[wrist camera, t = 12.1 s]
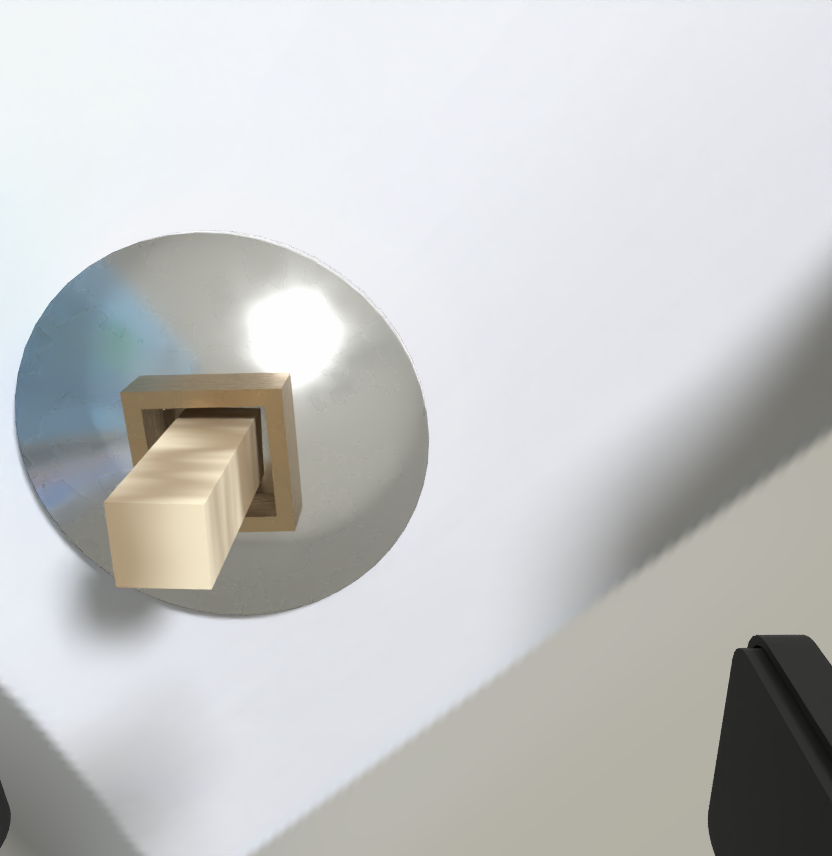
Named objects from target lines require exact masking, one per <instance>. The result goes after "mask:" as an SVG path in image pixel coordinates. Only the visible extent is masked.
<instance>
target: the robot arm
mask: <svg viewBox="0 0 832 856" xmlns="http://www.w3.org/2000/svg"><path fill="white" fill-rule="evenodd" d="M10 815H11V813H10V808H9V805H8V802H7V799H6V796H5V793H4V790H3V787H2V784H1V781H0V848H1V846H2V844H3V842H4V840H5V838H6V836H7V833H8V830H9V826H10V817H11V816H10ZM708 828H709V835H710V840H711V844H712V847H713V850H714V853H715V856H832V666H831V664H830V663H829V661H828V660H827V659H826V657H825V656H824V655H823V653H822V652H821V650H820V649H819V648H818V646H817V645H816V643H815V642H814V641H813V640H812V639H811V638H810V637H808V636H805V635H756V636H753V637H752V638H751V639H750V641H749V644H748V647H747V648H738V649H736V651H735V652H734V655H733V659H732V666H731V672H730V679H729V684H728V691H727V697H726V703H725V710H724V716H723V722H722V729H721V735H720V741H719V748H718V754H717V760H716V767H715V773H714V780H713V786H712V792H711V799H710V805H709V811H708Z"/></svg>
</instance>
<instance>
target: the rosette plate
mask: <svg viewBox="0 0 832 856" xmlns="http://www.w3.org/2000/svg"><path fill="white" fill-rule="evenodd" d="M212 407H231V408H261V427H262V446H263V465H264V476H263V478H262V480H261V482H260V484H259V487H258V489H257V491H256V493H255V495H254V498H253V500H252V502H251V504H250V506H249V509H248V511H247V513H246V515H245V517H244V520H243V522H242V524H241V526H240V528H239V531H238V533H237V535H236V537H235V539H234V542H233V544H232V546H231V548H230V550H229V553H228V555H227V557H226V559H225V561H224V564H223V566H222V568H221V570H220V572H219V575H218V577H217V579H216V581H215V583H214V585H213V588H212V590H207V589H162V588H135V589H137V590H139V591H141V592H143V593H145V594H147V595H149V596H151V597H154V598H157V599H159V600H162V601H165V602H168V603H170V604H173V605H177V606H181V607H185V608H189V609H193V610H197V611H203V612H210V613H217V614H230V615H253V614H266V613H274V612H279V611H284V610H290V609H294V608H298V607H301V606H304V605H307V604H310V603H313V602H317V601H319V600H321V599H323V598H325V597H327V596H330V595H332V594H334V593H336V592H338V591H340V590H342V589H343V588H345V587H346V586H348V585H350V584H351V583H353V582H355V581H356V580H358V579H359V578H360V577H361V576H363V575H364V574H365V573H366V572H368V571H369V570H370V569H371V568H372V567H374V566H375V565H376V564H377V563H378V562H379V561H380V560H381V559H382V558H383V557H384V555H385V554H386V553H387V552H388V551H389V550H390V549H391V548H392V547H393V545H394V544H395V542H396V541H397V540H398V538H399V537H400V535H401V534H402V533H403V531H404V530H405V528H406V526H407V524H408V522H409V520H410V518H411V516H412V514H413V512H414V510H415V508H416V506H417V503H418V500H419V497H420V494H421V491H422V488H423V485H424V480H425V474H426V469H427V464H428V448H429V430H428V419H427V408H426V403H425V398H424V394H423V390H422V386H421V382H420V379H419V376H418V374H417V371H416V368H415V366H414V363H413V361H412V358H411V356H410V354H409V352H408V350H407V349H406V347H405V345H404V343H403V341H402V339H401V338H400V336H399V334H398V333H397V331H396V330H395V328H394V327H393V326H392V324H391V323H390V322H389V320H388V319H387V317H386V316H385V315H384V313H383V312H382V311H381V310H380V309H379V308H378V307H377V306H376V305H375V303H374V302H373V301H372V300H371V299H370V298H369V297H368V296H367V295H366V294H365V293H364V292H363V291H362V290H361V289H360V288H358V287H357V286H356V285H355V284H353V283H352V282H351V281H350V280H349V279H347V278H346V277H345V276H344V275H342V274H341V273H340V272H338V271H337V270H335V269H333V268H332V267H330V266H329V265H327V264H325V263H324V262H322V261H321V260H319V259H317V258H316V257H313V256H311V255H309V254H307V253H305V252H303V251H300V250H298V249H296V248H294V247H292V246H290V245H287V244H283V243H280V242H277V241H274V240H271V239H267V238H264V237H261V236H255V235H250V234H244V233H238V232H233V231H211V230H199V231H189V232H178V233H172V234H167V235H163V236H159V237H155V238H150V239H146V240H144V241H141V242H138V243H135V244H133V245H130V246H128V247H125V248H123V249H120V250H118V251H115V252H113V253H111V254H109V255H107V256H106V257H104V258H102V259H101V260H99V261H97V262H95V263H94V264H92V265H90V266H89V267H87V268H86V269H85V270H84V271H82V272H81V273H80V274H79V275H77V276H76V277H75V278H74V279H72V280H71V281H70V282H69V283H67V285H66V286H65V287H64V288H63V289H62V290H61V291H60V292H59V293H58V294H57V296H56V297H55V298H54V299H53V300H52V301H51V302H50V303H49V305H48V306H47V308H46V309H45V311H44V313H43V314H42V316H41V317H40V319H39V320H38V322H37V323H36V325H35V327H34V329H33V331H32V334H31V336H30V338H29V340H28V342H27V345H26V347H25V350H24V353H23V357H22V360H21V364H20V368H19V371H18V378H17V386H16V395H15V412H16V427H17V433H18V439H19V445H20V450H21V453H22V456H23V459H24V462H25V466H26V469H27V472H28V474H29V476H30V479H31V481H32V483H33V485H34V487H35V490H36V492H37V494H38V496H39V498H40V499H41V501H42V502H43V504H44V506H45V507H46V509H47V510H48V512H49V514H50V515H51V517H52V518H53V519H54V521H55V522H56V523H57V524H58V526H59V527H60V528H61V529H62V531H63V532H64V533H65V535H66V536H67V537H68V538H69V539H70V540H71V541H72V542H73V543H74V544H75V545H76V546H77V547H78V548H79V549H80V550H81V551H82V552H83V553H84V554H85V555H86V556H87V557H89V558H90V559H91V560H92V561H94V562H95V563H96V564H97V565H99V566H100V567H101V568H102V569H104V570H105V571H106V572H108V573H109V574H111V575H113V576H114V571H113V564H112V557H111V550H110V543H109V536H108V529H107V522H106V515H105V508H104V501H105V500H106V499H107V498H108V497H109V495H110V494H111V493H112V492H113V491H114V490H115V489H116V487H117V486H118V485H119V484H120V483H121V482H122V481H123V479H124V478H125V477H126V476H127V475H128V474H129V473H130V471H131V470H132V469H133V468H134V467H135V466H136V465H137V463H138V462H139V461H140V460H141V459H142V458H143V456H144V455H145V454H146V453H147V452H148V451H149V450H150V448H151V447H152V446H153V445H154V444H155V443H156V442H157V440H158V439H159V438H160V437H161V436H162V435H163V434H164V432H165V431H166V430H167V429H168V428H169V427H170V426H171V424H172V423H173V422H174V421H175V420H176V419H177V417H178V416H179V415H180V414H181V413H182V412H183V411H184V409H185V408H212Z"/></svg>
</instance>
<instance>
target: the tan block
mask: <svg viewBox="0 0 832 856" xmlns="http://www.w3.org/2000/svg"><path fill="white" fill-rule="evenodd" d="M263 476H264V465H263V446H262V427H261V408H231V407H212V408H185V409H184V411H183V412H182V413H181V414H180V415H179V416H178V417H177V419H176V420H175V421H174V422H173V423H172V424H171V426H170V427H169V428H168V429H167V430H166V431H165V432H164V434H163V435H162V436H161V437H160V438H159V439H158V440H157V442H156V443H155V444H154V445H153V446H152V447H151V448H150V450H149V451H148V452H147V453H146V454H145V455H144V456H143V458H142V459H141V460H140V461H139V462H138V463H137V465H136V466H135V467H134V468H133V469H132V470H131V471H130V473H129V474H128V475H127V476H126V477H125V478H124V479H123V481H122V482H121V483H120V484H119V485H118V486H117V487H116V489H115V490H114V491H113V492H112V493H111V494H110V495H109V497H108V498H107V499H106V500H105V501H104V508H105V515H106V522H107V529H108V536H109V543H110V550H111V557H112V564H113V571H114V578H115V585H116V587H117V588H162V589H207V590H212V588H213V585H214V583H215V581H216V579H217V577H218V575H219V572H220V570H221V568H222V566H223V564H224V561H225V559H226V557H227V555H228V553H229V550H230V548H231V546H232V544H233V542H234V539H235V537H236V535H237V533H238V531H239V528H240V526H241V524H242V522H243V520H244V517H245V515H246V513H247V511H248V509H249V506H250V504H251V502H252V500H253V498H254V495H255V493H256V491H257V489H258V487H259V484H260V482H261V480H262V478H263Z"/></svg>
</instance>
